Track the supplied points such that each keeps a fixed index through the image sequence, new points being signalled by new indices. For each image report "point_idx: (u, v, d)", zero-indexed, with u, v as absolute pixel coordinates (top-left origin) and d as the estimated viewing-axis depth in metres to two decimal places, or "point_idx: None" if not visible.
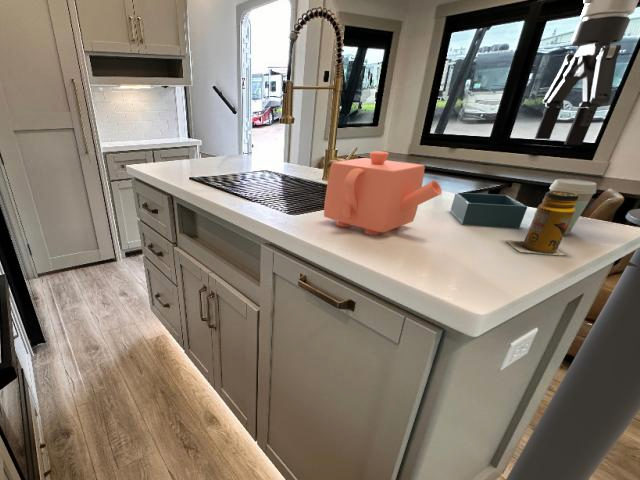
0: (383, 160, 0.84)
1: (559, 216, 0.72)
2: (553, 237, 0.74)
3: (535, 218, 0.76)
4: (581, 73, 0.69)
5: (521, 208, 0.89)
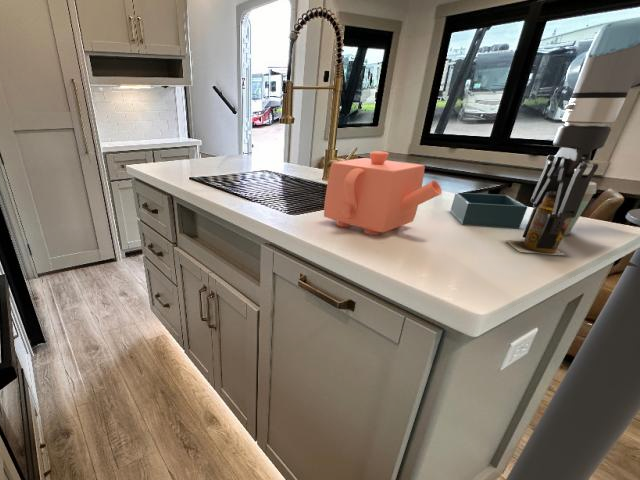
0: (383, 160, 0.84)
1: None
2: None
3: (535, 218, 0.76)
4: (559, 179, 0.70)
5: (521, 208, 0.89)
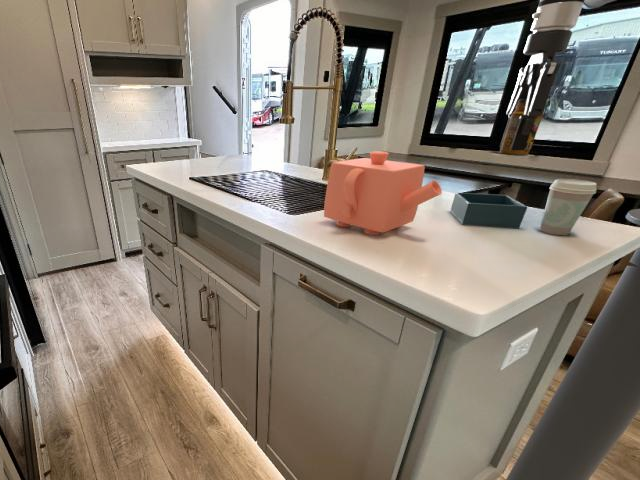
0: (383, 160, 0.84)
1: None
2: None
3: (509, 124, 0.85)
4: (529, 83, 0.79)
5: (521, 208, 0.89)
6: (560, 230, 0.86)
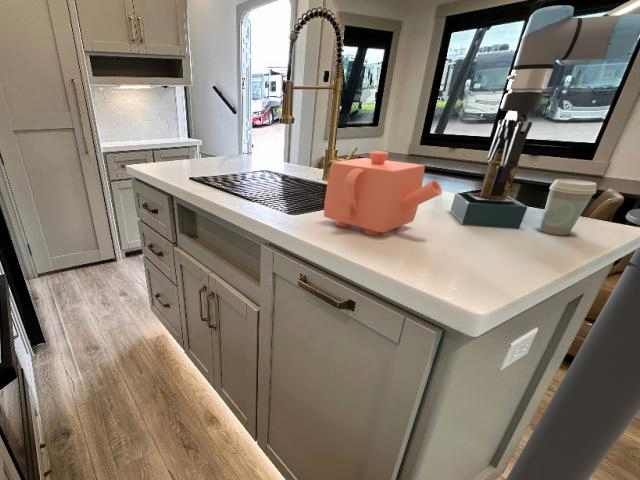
0: (383, 160, 0.84)
1: None
2: None
3: (488, 171, 0.93)
4: (505, 137, 0.87)
5: (521, 208, 0.89)
6: (560, 230, 0.86)
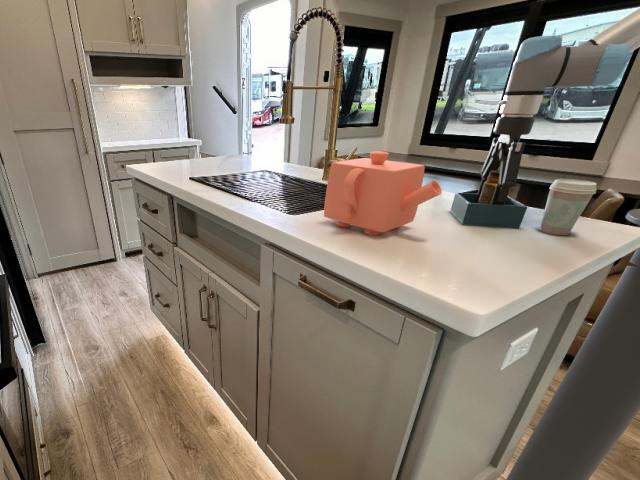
0: (383, 160, 0.84)
1: None
2: None
3: (482, 192, 0.95)
4: (500, 158, 0.88)
5: (521, 208, 0.89)
6: (560, 230, 0.86)
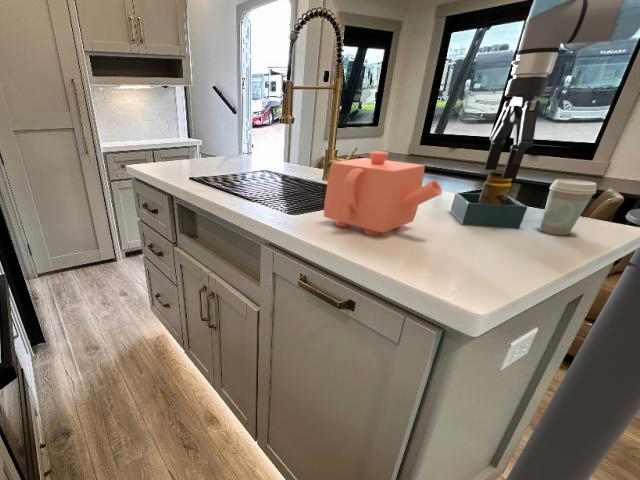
0: (383, 160, 0.84)
1: (498, 190, 0.91)
2: None
3: (482, 192, 0.95)
4: (513, 121, 0.84)
5: (521, 208, 0.89)
6: (560, 230, 0.86)
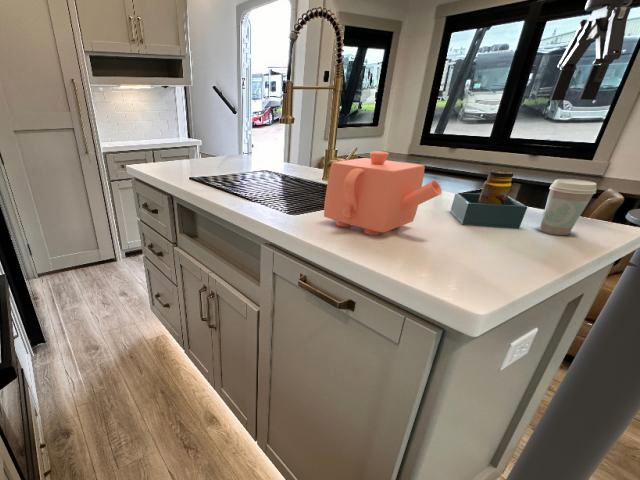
0: (383, 160, 0.84)
1: (498, 190, 0.91)
2: None
3: (482, 192, 0.95)
4: (595, 34, 0.77)
5: (521, 208, 0.89)
6: (560, 230, 0.86)
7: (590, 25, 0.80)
